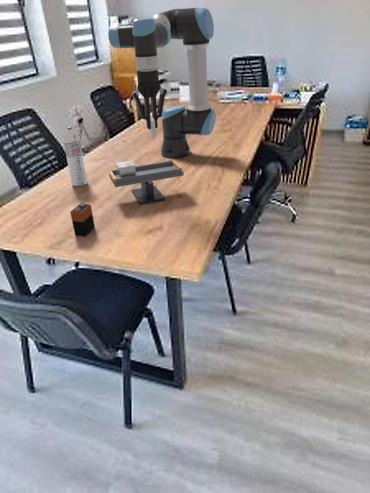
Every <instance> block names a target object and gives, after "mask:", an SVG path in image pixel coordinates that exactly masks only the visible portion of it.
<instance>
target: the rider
mask: <svg viewBox="0 0 370 493" xmlns="http://www.w3.org/2000/svg"><path fill="white" fill-rule="evenodd" d="M135 166H136V164H134V162H133V160H127V161H126V160H125V161H119V162H115V167H116V169H117V174H118V177H119V178H122V177H128V176H134V175H136V171H135Z"/></svg>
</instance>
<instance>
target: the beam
mask: <svg viewBox="0 0 370 493" xmlns="http://www.w3.org/2000/svg"><path fill="white" fill-rule="evenodd" d="M135 171H136V175H134V176H128V177H122V178H119V177H118V174H117V168H116V169H111V170H110V171H108V178H109V179H110V180H111V182H112V184H113V185H114V188H118V187H125V186H132V185H139V184H141V183H143V182H148V183H149V184H151V183H152V182H155V181H159V180H164V179H165V180H166V179H167V180H168V179H172V178H178V177H182V176H185V175H184V172H183V167H182V166H181V165H180V164H179V163H178V162H177V161H176V160H166V161H159V162H153V163H147V164H141V165H135ZM151 181H152V182H151Z"/></svg>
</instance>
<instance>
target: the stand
mask: <svg viewBox="0 0 370 493" xmlns="http://www.w3.org/2000/svg"><path fill="white" fill-rule="evenodd" d="M151 182H152V183H151V184H149V183H148V182H143V183H140V186H141V187H140V188H135V189H134V188H133V189H131V193H132V194H133V196H134V197H135V199H136V200H137V202H138V204H139V205H140V206H143V205H149V204H156V203H160V202H165V201H166V197H165V196H164V195H163V194H162V192H161V191H160V190H159V189H158V187H157V186H156V185H154V181H151Z"/></svg>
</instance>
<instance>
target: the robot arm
mask: <svg viewBox="0 0 370 493" xmlns="http://www.w3.org/2000/svg"><path fill="white" fill-rule="evenodd" d="M214 26H215V25H214V20H213V16H212V12H211V11H210V9H208V8H206V7H189V8H174V9H169V10H166V11H163V12H160V13H156V14H154V15H153V16H152V17H151V18H150V17H149V18H148V17H146V18H134V19H133V20H132V22H130V23H125V24H117V25H116V24H115V25H111V26H110V27H109V29H108V35H107V36H108V41H109V44H110V46H111V47H112V48H114V49H134V53H135V54H134V56H135V57H134V58H135V68H136V70H137V71H136V78H137V86H136V89H135V90H134V91H132V92H131V96H132V97H133V98H134V101H135V103H136V107H137V109H138V113H139V116H140V118H141V119H142V120H145V122H146V128H147V130H149V135H150V138H151V139H156V138H157V132H156V131H157V130H156V129H158V127H159V125H158V119H159V118H161V125H162V139H163V140H162V144H161V146H160V147H161V148H160V154H161V156H162V157H165V158H170V159H173V158H174V159H175V158H176V159H177V158H178V159H179V158H182V157H183V156H184V157H186V155H187V156H189V155H190V154H189V153H191V148H190V145H189V143H188V140H187V135H192V136H193V135H196V136H209V135H211V134H212V133H213V130H214V128H215V125H216V120H217V119H216V118H217V117H216V116H217V115H216V111H215V110H212V105H211V104H210V103H209V98H208V97H209V94H208V92H209V91H208V67H207V66H208V65H207V47H208V45H210V40H211V39H212V38H213V36H214V31H215V28H214ZM171 40H182V45H183V46H184V47H185V48H186V53H187V54H186V55H187V56H186V58H187V59H186V60H187V76H188V90H189V93H188V94H189V104H188V106H187V107H185V105H174V106H170V107H169V106H168V107H166V108H164V105H165V104H164V103H165V97H166V95H167V93H168V90H167V89H165V88H164V87H162V86H161V83H160V77H159V70H158V67H159V63H158V62H159V61H158V51H157V50H158V48H164V47H165V46H167V45H169V43H170V42H171ZM158 93H159V98H158V104H157V96H158ZM140 95H141V96H142V97H143V103H144V104H143V105H144V109H143V106H142V102H141V99H140V98H139V97H140ZM150 104H151V105H150ZM150 106H151V107H150ZM150 108H151V109H150ZM151 115H152V118H151ZM188 154H189V155H188ZM184 157H183V158H184Z"/></svg>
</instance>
